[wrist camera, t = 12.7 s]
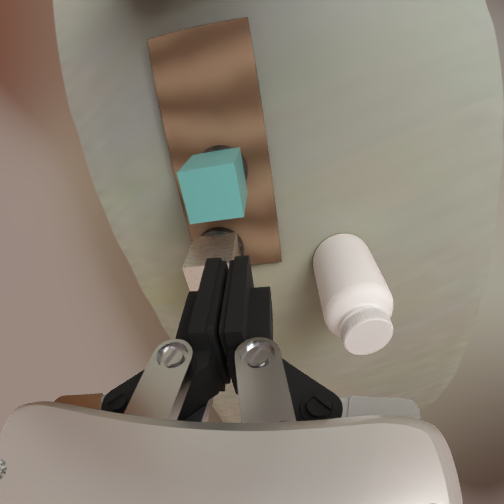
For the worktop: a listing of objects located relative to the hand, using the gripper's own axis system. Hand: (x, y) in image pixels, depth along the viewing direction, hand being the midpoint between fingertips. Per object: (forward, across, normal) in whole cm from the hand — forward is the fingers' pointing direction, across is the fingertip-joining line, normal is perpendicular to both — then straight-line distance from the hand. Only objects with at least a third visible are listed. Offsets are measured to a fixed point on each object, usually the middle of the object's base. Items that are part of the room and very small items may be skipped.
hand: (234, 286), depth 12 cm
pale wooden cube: (+24, +6, +12) cm, 28 cm away
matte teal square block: (+22, +4, +2) cm, 23 cm away
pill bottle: (+24, -10, +16) cm, 31 cm away
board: (+24, +4, 0) cm, 25 cm away
